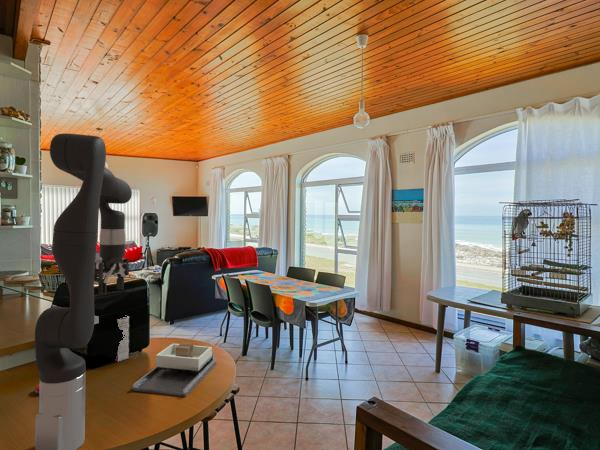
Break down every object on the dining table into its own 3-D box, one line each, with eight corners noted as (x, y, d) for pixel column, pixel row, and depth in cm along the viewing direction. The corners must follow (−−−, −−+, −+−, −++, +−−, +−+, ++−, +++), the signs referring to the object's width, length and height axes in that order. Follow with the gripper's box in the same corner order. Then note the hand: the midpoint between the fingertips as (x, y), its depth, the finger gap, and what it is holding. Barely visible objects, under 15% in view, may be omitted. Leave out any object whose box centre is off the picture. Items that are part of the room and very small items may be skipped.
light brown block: (187, 362, 128) (188, 348, 128) (175, 361, 129) (175, 347, 128) (193, 357, 132) (193, 343, 132) (181, 356, 133) (181, 342, 133)
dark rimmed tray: (185, 396, 112) (186, 383, 112) (132, 390, 115) (132, 378, 115) (216, 364, 137) (216, 353, 137) (171, 359, 139) (171, 349, 139)
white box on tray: (198, 375, 124) (198, 359, 124) (155, 371, 126) (155, 355, 126) (211, 361, 135) (212, 347, 135) (172, 358, 138) (172, 343, 137)
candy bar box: (100, 355, 141) (100, 313, 141) (112, 351, 146) (113, 311, 145) (117, 362, 135) (117, 319, 135) (129, 358, 140) (130, 316, 139)
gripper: (108, 244, 112) (107, 297, 113) (136, 241, 126) (135, 288, 127) (86, 243, 114) (85, 295, 114) (116, 240, 128) (115, 287, 128)
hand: (111, 291), depth 120 cm, fingers open, 8 cm apart
